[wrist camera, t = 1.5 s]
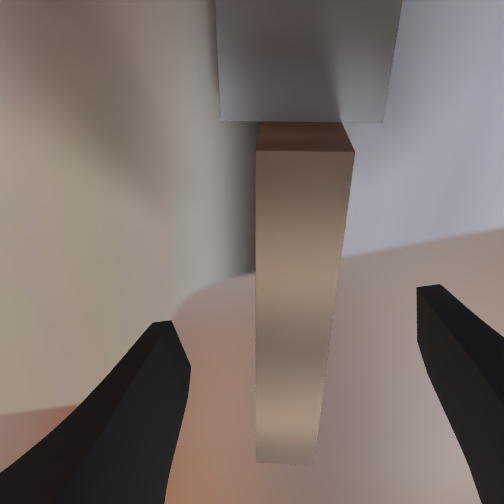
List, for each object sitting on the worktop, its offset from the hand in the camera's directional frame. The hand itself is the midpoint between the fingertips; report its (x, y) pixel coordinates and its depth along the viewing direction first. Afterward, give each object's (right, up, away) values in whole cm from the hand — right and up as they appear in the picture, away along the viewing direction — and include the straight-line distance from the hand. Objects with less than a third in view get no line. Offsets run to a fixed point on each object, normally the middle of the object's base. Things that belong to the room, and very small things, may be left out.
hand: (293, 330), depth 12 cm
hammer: (0, +3, +4) cm, 5 cm away
